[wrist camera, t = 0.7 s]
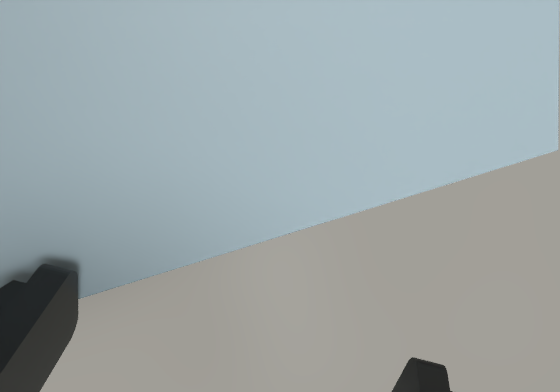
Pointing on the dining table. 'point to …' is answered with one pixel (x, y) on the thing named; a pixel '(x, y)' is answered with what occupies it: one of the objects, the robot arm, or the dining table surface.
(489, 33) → the grey foam block
